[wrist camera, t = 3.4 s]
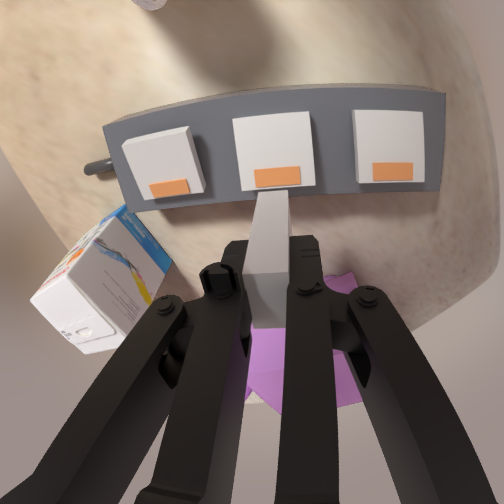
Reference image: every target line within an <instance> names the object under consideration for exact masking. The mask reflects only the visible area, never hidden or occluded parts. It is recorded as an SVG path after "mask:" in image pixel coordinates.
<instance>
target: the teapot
mask: <svg viewBox="0 0 504 504" xmlns="http://www.w3.org/2000/svg"><path fill="white" fill-rule="evenodd" d="M323 279H324V282H325V284H326V285H327V286H328V287H329V288H330V289H332V290H334V291H336V292H340V293H345V294H349V293H350V292H351V291H352V290H353V289H355V288H357V287H358V285H357V282H356V280H355V277H354V275H353V272H349V273H347V274H344V275H341V276H335V275H329V276H326V277H324V278H323ZM285 331H286V328H270V329H253V324H251V334H252V347H251V355H250V363H249V371H248V378H247V386H246V394H245V400H246V399H247V398H248V397H249V395H250V394H251V392H252V390H253V391H254V392H255V393H256V394H257V395H259V396H260V397H261V398H262V399H263V400H264V401H265V402H266V403H267V404H269V405H270V406H271V407H272V408H273V409H275V410H276V411H277V412H278V413H279V414H280V415H281V414H282V397H283V378H284V356H285ZM333 359H334V371H335V385H336V401H337V407H341V406H345V405H350V404H354V403H358V402H362V401H363V400H362V398H361V395H360V393H359V390H358V388H357V385H356V383H355V380H354V378H353V376H352V373H351V371H350V368H349V366H348V364H347V361H346V359H345V356H344V354H343V351H340V350H335V349H333Z"/></svg>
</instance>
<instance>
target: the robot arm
mask: <svg viewBox="0 0 504 504" xmlns="http://www.w3.org/2000/svg"><path fill="white" fill-rule="evenodd" d="M199 276H200V280H201V283H202V286H203V289H204V292H205V293H204V296H203V297H201V298H199V299H196V300H192V301H188V302H184V303H183V301H182V299H181V298H180V297H178V296H176V295H166V296H162V297H160V298H158V299H156V300H155V301H154V302H153V303H152V304H151V305H150V306H149V307H148V309H147V310H146V311H145V313H144V314H143V315H142V317H141V318H140V319H139V321H138V322H137V323H136V324H135V326H134V327H133V328H132V330H131V331H130V332H129V334H128V335H127V336H126V338H125V339H124V341H123V342H122V343H121V345H120V346H119V347H118V349H117V350H116V351H115V353H114V354H113V356H112V357H111V358H110V360H109V361H108V362H107V364H106V365H105V367H104V368H103V369H102V371H101V372H100V373H99V375H98V376H97V378H96V379H95V380H94V382H93V383H92V385H91V386H90V388H89V389H88V390H87V392H86V393H85V395H84V396H83V398H82V399H81V401H80V402H79V403H78V405H77V407H76V408H75V409H74V411H73V412H72V414H71V415H70V417H69V418H68V420H67V422H66V423H65V424H64V426H63V427H62V429H61V430H60V432H59V433H58V435H57V436H56V438H55V439H54V441H53V442H52V444H51V446H50V447H49V449H48V450H47V452H46V453H45V455H44V456H43V458H42V460H41V461H40V463H39V464H38V466H37V468H36V469H35V471H34V472H33V474H32V475H31V476H29V477H28V478H27V479H26V480H25V481H23V482H22V483H20V484H19V485H18V486H17V487H15V488H14V489H12V490H11V491H10V492H9V493H7V494H6V495H5V496H3V497H2V498H1V499H0V504H118V503H119V502H120V500H121V498H122V496H123V494H124V493H125V491H126V489H127V487H128V486H129V484H130V482H131V480H132V479H133V477H134V475H135V473H136V472H137V470H138V468H139V466H140V464H141V463H142V461H143V459H144V457H145V456H146V454H147V452H148V450H149V448H150V447H151V445H152V443H153V441H154V440H155V438H156V436H157V434H158V432H159V431H160V429H161V427H162V425H163V423H164V421H165V420H166V418H167V416H168V415H169V416H168V420H167V424H166V427H165V431H164V435H163V439H162V442H161V446H160V450H159V454H158V458H157V462H156V465H155V469H154V474H153V477H152V480H151V483H150V484H149V485H148V486H147V487H145V488H144V489H142V490H141V491H140V492H139V494H138V495H137V497H136V500H135V502H134V504H230V503H231V497H232V490H233V483H234V475H235V468H236V461H237V453H238V446H239V439H240V432H241V424H242V417H243V409H244V402H245V394H246V386H247V378H248V371H249V363H250V355H251V347H252V334H251V324H253V329H270V328H286V331H285V356H284V378H283V397H282V414H281V430H280V445H279V457H278V470H277V482H276V494H275V501H274V504H340V503H339V452H338V424H337V423H338V421H337V401H336V385H335V371H334V359H333V349H335V350H340V351H343V354H344V356H345V359H346V361H347V364H348V366H349V368H350V371H351V373H352V376H353V378H354V380H355V383H356V385H357V388H358V390H359V393H360V395H361V398H362V400H363V402H364V405H365V407H366V410H367V412H368V415H369V418H370V420H371V423H372V425H373V428H374V430H375V433H376V436H377V438H378V441H379V444H380V446H381V448H382V451H383V454H384V457H385V459H386V462H387V465H388V468H389V470H390V473H391V476H392V479H393V482H394V484H395V487H396V490H397V493H398V496H399V499H400V502H401V504H498V503H497V502H496V499H495V497H494V494H493V492H492V489H491V487H490V484H489V482H488V479H487V477H486V474H485V472H484V470H483V467H482V465H481V463H480V461H479V459H478V456H477V454H476V452H475V450H474V448H473V445H472V443H471V441H470V439H469V437H468V435H467V433H466V431H465V429H464V427H463V425H462V423H461V421H460V419H459V417H458V415H457V413H456V411H455V409H454V407H453V405H452V403H451V402H450V400H449V398H448V396H447V394H446V392H445V390H444V389H443V387H442V385H441V383H440V382H439V380H438V378H437V376H436V374H435V373H434V371H433V369H432V368H431V366H430V364H429V363H428V361H427V359H426V357H425V355H424V354H423V352H422V350H421V349H420V347H419V346H418V344H417V342H416V341H415V339H414V337H413V336H412V334H411V332H410V331H409V329H408V328H407V326H406V325H405V323H404V321H403V320H402V318H401V317H400V315H399V314H398V312H397V311H396V309H395V307H394V306H393V304H392V303H391V301H390V300H389V298H388V297H387V295H386V294H385V293H384V292H383V291H382V290H381V289H378V288H376V287H373V286H359V287H357V288H355V289H353V290H352V291H351V292H350V293H349V294H345V293H340V292H336V291H334V290H332V289H330V288H329V287H328V286H327V285H326V284H325V282H324V279H323V272H322V265H321V257H320V250H319V243H318V241H317V239H316V238H315V237H314V236H313V235H304V236H292V230H291V218H290V207H289V197H288V190H280V191H268V192H258V197H257V202H256V207H255V212H254V217H253V222H252V227H251V232H250V237H249V240H239V241H231V242H230V243H229V244H228V245H227V246H226V248H225V250H224V253H223V257H222V260H221V262H217V263H213V264H211V265H208V266H206V267H205V268H204V269H203V270H202V271H201V272H200V274H199Z"/></svg>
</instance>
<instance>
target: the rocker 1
mask: <svg viewBox="0 0 504 504" xmlns="http://www.w3.org/2000/svg"><path fill="white" fill-rule="evenodd" d="M122 149H123V151H124V154H125V156H126V159H127V161H128V163H129V166H130V168H131V171H132V173H133V175H134V178H135V180H136V182H137V185H138V187H139V189H140V192H141V194H142V196H143V198H144V200H149V199H156V198H163V197H171V196H178V195H186V194H194V193H203V192H204V190H205V187H206V182H205V179H204V175H203V172H202V169H201V165H200V162H199V158H198V155H197V151H196V148H195V145H194V141H193V138H192V134H191V131H190V127H189V126H186V127H180V128H175V129H170V130H166V131H161V132H157V133H152V134H148V135H144V136H139V137H135V138H131V139H127V140H126V141H125V142H124V143H123V145H122Z"/></svg>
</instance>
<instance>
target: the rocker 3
mask: <svg viewBox="0 0 504 504" xmlns="http://www.w3.org/2000/svg"><path fill="white" fill-rule="evenodd" d="M351 111H352V122H353V134H354V148H355V166H356V181H357V182H358V183H388V182H424V180H425V153H424V126H423V112H415V111H396V110H351Z"/></svg>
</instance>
